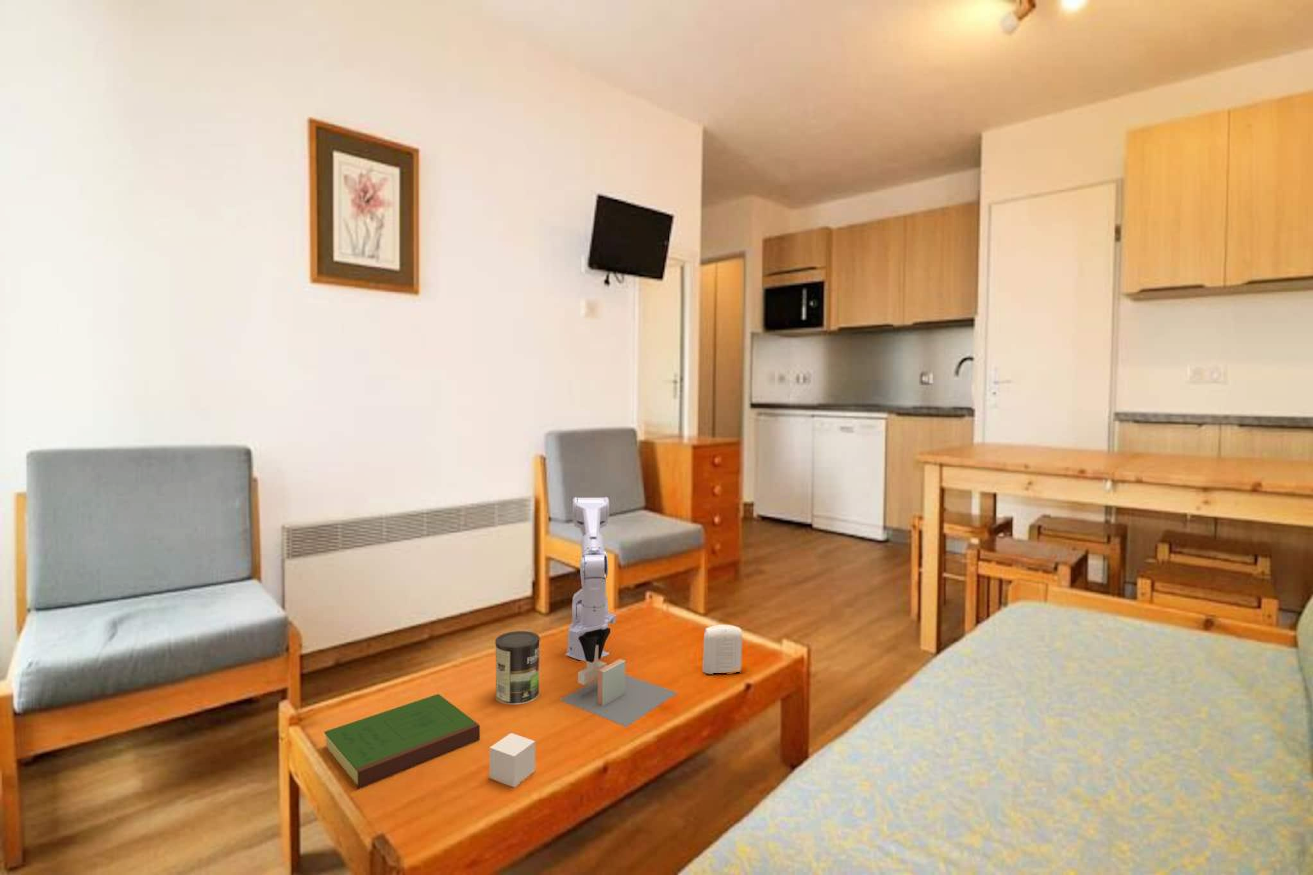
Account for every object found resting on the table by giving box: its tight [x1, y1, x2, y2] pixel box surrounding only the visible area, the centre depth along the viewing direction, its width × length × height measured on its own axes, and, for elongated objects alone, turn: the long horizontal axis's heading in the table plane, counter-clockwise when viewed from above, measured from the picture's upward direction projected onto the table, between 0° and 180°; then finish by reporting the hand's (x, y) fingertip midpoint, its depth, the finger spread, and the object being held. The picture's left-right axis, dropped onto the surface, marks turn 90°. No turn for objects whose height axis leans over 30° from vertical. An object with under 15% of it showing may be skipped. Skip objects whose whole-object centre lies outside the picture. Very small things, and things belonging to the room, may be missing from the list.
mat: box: [559, 674, 678, 728], centre depth 152 cm, size 20×20×1 cm
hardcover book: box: [324, 693, 481, 790], centre depth 131 cm, size 25×19×4 cm
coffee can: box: [494, 630, 541, 705], centre depth 152 cm, size 10×10×14 cm
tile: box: [597, 658, 626, 706], centre depth 150 cm, size 2×8×8 cm, turn 144°
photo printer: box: [702, 624, 743, 675], centre depth 167 cm, size 10×4×12 cm, turn 98°
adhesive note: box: [489, 733, 536, 788], centre depth 121 cm, size 6×6×6 cm
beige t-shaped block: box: [577, 644, 607, 686], centre depth 154 cm, size 2×8×8 cm, turn 144°
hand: (593, 659), depth 154 cm, fingers closed on beige t-shaped block, 2 cm apart
